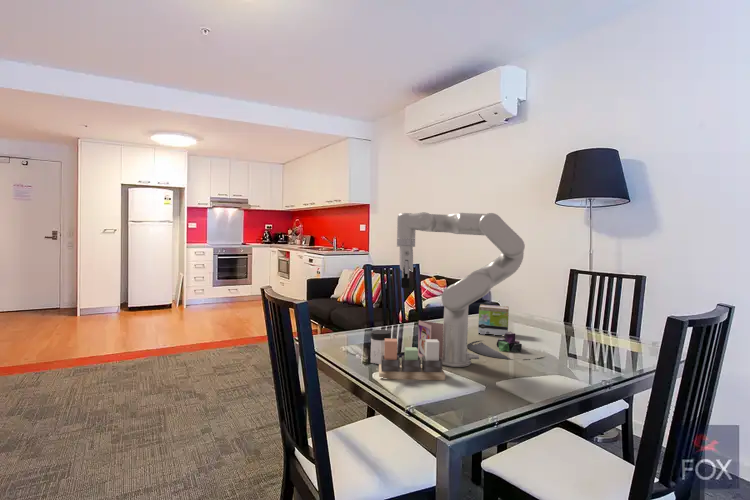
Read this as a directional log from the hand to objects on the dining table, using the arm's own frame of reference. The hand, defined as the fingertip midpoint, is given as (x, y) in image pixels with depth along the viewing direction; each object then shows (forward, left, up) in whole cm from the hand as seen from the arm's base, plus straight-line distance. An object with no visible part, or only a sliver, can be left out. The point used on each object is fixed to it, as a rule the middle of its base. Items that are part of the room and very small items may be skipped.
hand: (405, 287), depth 176 cm
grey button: (-9, +22, -24) cm, 33 cm away
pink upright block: (+6, +22, -24) cm, 33 cm away
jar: (+10, +6, -29) cm, 31 cm away
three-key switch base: (-1, +22, -29) cm, 36 cm away
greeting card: (-11, 0, -30) cm, 31 cm away
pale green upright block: (-1, +22, -27) cm, 35 cm away
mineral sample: (-48, -17, -30) cm, 59 cm away
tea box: (-51, -49, -29) cm, 77 cm away
